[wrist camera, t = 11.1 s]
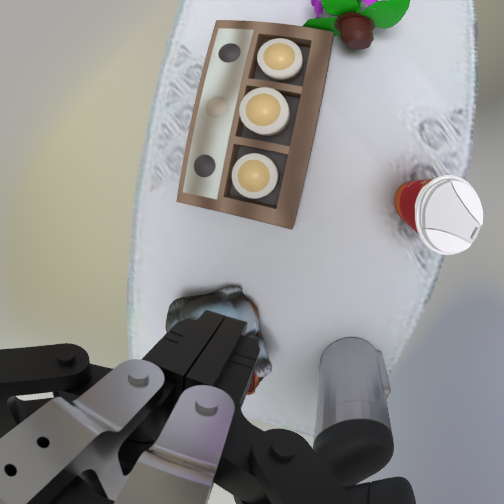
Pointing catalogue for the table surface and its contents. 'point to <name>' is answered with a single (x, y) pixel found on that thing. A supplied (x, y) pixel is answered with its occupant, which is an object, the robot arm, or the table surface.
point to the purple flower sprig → (357, 18)
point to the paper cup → (441, 212)
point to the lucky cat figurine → (230, 305)
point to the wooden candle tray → (242, 138)
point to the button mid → (264, 111)
